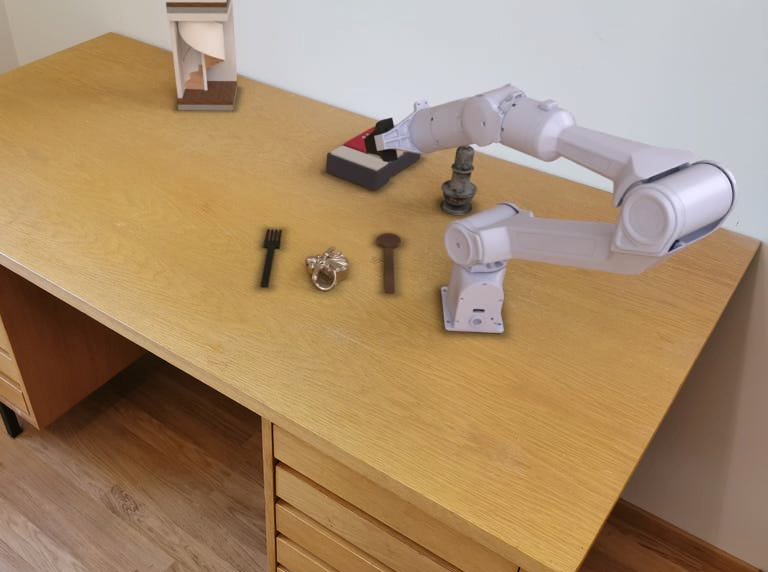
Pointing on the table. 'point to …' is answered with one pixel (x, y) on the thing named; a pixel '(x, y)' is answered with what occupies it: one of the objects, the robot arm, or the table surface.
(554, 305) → the table surface
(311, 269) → the ornament
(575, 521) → the table surface
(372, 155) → the calculator
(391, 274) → the brown disc-ended stick
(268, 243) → the black fork
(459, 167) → the grey stone chess piece
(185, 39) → the spiral staircase model
